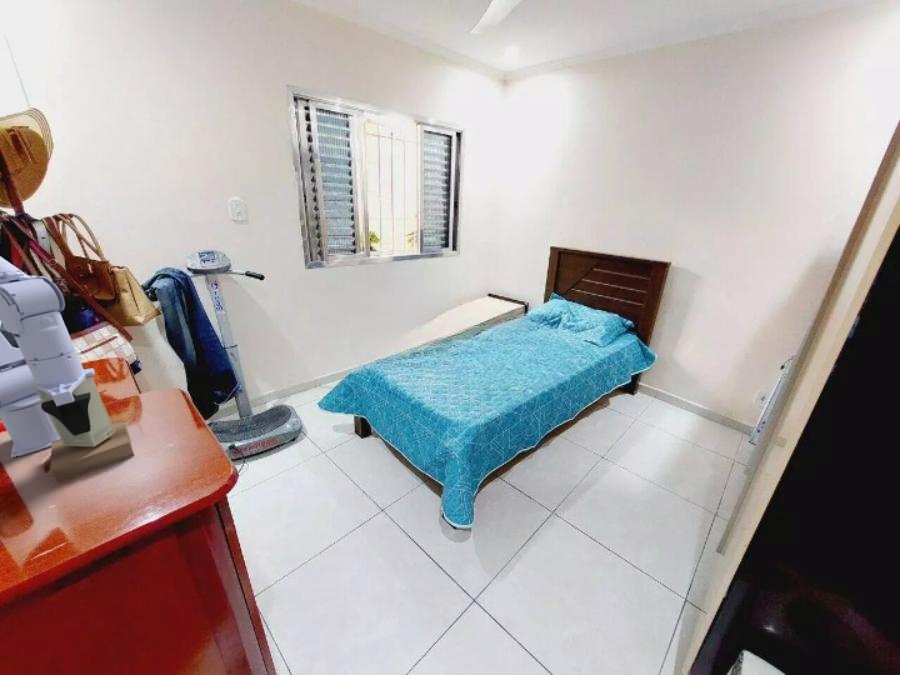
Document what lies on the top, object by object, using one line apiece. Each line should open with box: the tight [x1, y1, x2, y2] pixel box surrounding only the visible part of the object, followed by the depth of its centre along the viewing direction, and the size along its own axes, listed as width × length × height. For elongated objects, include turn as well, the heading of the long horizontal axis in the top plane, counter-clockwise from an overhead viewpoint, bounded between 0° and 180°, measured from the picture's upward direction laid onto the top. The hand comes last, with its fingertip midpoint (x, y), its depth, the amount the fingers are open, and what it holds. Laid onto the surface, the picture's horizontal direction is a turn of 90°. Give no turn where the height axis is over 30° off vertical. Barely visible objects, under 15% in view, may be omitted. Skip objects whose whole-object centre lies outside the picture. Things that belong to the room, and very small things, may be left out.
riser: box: [49, 419, 135, 485], centre depth 66 cm, size 10×10×3 cm
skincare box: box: [34, 375, 115, 447], centre depth 63 cm, size 6×4×12 cm
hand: (81, 422), depth 64 cm, fingers closed on skincare box, 7 cm apart
